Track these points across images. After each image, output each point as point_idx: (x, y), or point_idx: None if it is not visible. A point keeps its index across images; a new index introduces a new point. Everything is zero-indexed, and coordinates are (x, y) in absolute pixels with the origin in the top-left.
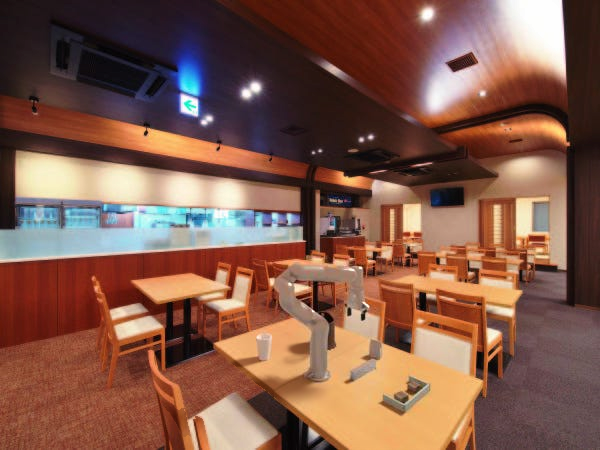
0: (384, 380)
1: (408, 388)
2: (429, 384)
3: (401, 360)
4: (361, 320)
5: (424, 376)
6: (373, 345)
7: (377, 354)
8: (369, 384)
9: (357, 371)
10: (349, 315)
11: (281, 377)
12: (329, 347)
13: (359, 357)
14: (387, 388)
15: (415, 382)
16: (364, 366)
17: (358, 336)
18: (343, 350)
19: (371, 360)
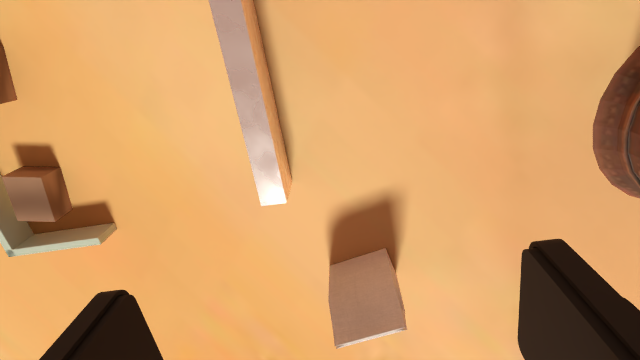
0: (159, 135)
1: (48, 170)
2: (6, 251)
3: (268, 330)
4: (106, 292)
5: None
6: (372, 301)
7: (342, 275)
8: (156, 34)
9: (213, 8)
10: (525, 293)
11: None
12: (620, 106)
13: (406, 194)
14: (94, 93)
15: (43, 218)
16: (231, 88)
17: None
18: (531, 175)
19: (270, 180)
